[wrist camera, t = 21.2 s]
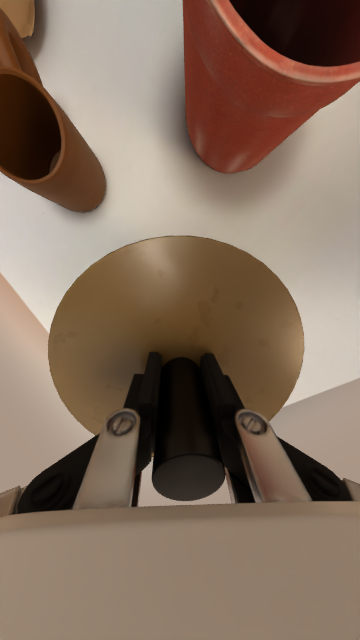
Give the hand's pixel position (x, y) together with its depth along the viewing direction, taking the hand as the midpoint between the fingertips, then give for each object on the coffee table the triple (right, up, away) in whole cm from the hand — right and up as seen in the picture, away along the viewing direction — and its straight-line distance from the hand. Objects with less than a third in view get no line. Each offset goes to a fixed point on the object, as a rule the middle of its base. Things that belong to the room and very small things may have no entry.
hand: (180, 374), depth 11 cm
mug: (-14, +24, +12) cm, 30 cm away
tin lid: (0, 0, +1) cm, 1 cm away
